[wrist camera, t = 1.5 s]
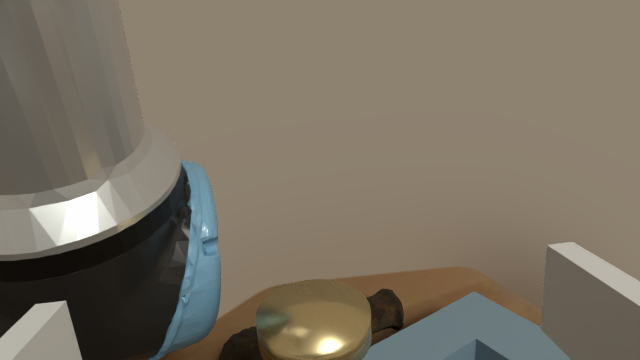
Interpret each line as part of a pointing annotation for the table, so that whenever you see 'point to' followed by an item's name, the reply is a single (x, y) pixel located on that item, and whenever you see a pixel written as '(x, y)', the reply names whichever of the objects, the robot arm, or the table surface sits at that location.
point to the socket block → (469, 336)
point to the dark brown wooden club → (386, 311)
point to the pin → (314, 322)
